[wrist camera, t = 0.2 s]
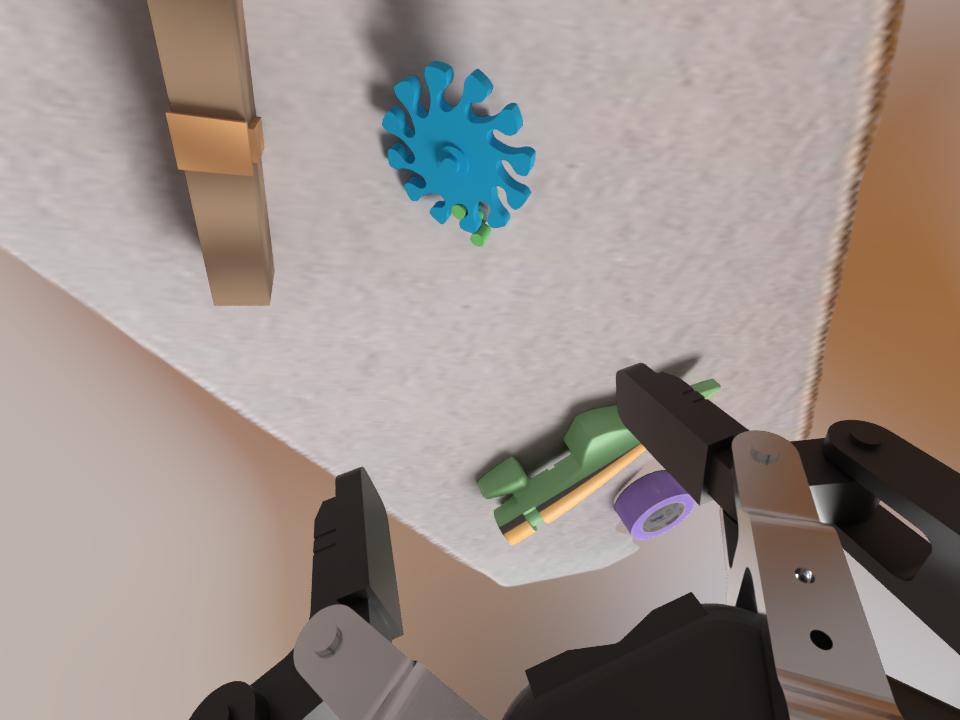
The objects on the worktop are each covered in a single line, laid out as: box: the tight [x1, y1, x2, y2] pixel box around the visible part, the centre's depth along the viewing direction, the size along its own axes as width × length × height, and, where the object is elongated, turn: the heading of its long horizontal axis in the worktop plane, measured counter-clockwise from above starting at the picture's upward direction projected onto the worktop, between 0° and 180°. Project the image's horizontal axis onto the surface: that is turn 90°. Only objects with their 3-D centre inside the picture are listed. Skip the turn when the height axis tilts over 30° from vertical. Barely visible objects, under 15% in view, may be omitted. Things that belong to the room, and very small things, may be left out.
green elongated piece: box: [478, 379, 721, 545], centre depth 52 cm, size 32×10×7 cm, turn 119°
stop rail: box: [147, 0, 274, 306], centre depth 22 cm, size 18×3×6 cm, turn 170°
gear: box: [382, 61, 536, 246], centre depth 27 cm, size 11×6×10 cm
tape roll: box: [615, 470, 695, 540], centre depth 69 cm, size 12×12×5 cm
